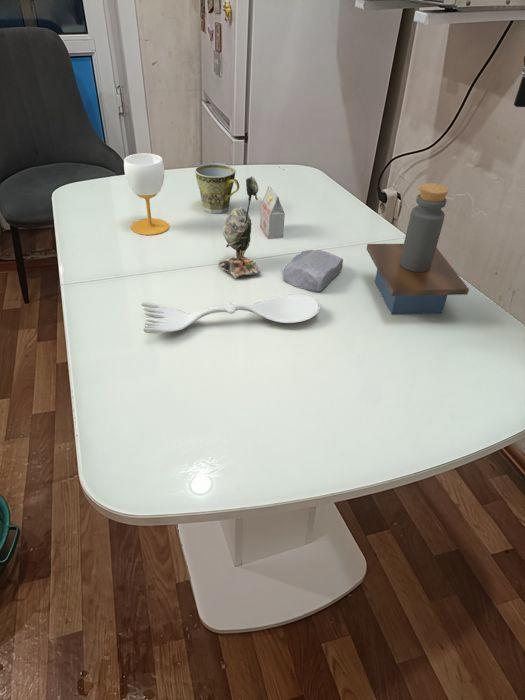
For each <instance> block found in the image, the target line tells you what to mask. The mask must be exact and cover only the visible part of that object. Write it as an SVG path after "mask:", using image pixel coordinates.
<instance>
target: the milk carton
mask: <svg viewBox="0 0 525 700" xmlns="http://www.w3.org/2000/svg"><path fill="white" fill-rule="evenodd" d="M285 216H286V213H285V211H284V209H283V206H282V204H281V201H280V197H279V195H278V194H277V193H276V192H275V190H274V189H273V188H272V187H271V186H267V190H266V192H265V194H264V196H263V199H262V201H261V203H260V225H259V226H260V229H261V230H262V231H263V233H264V234H265V237H266V238H267V239H268V240H270V239H282V238H284V231H285V220H286V219H285Z"/></svg>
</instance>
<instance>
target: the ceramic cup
mask: <svg viewBox="0 0 525 700" xmlns="http://www.w3.org/2000/svg"><path fill="white" fill-rule="evenodd" d="M194 172H195V178H196V183H197V187H198V190H199V194H200V198H201V203H202V204H201V205H202V208H203V211H205V212H206V213H209V214H224V213H226V212H228V211H229V208H230V202H231V197H232V196H233V195H234V194H235V193H237V192H238V191H239V190H240V183H239V181H238V180H237V179H236V169H235V167H234V166H231V165H228V164H225V163H205V164H200V165H198V166H196V167H195V169H194ZM234 184H235V186H236V189H235V190H234V191H232V190H233V187H234Z"/></svg>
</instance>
